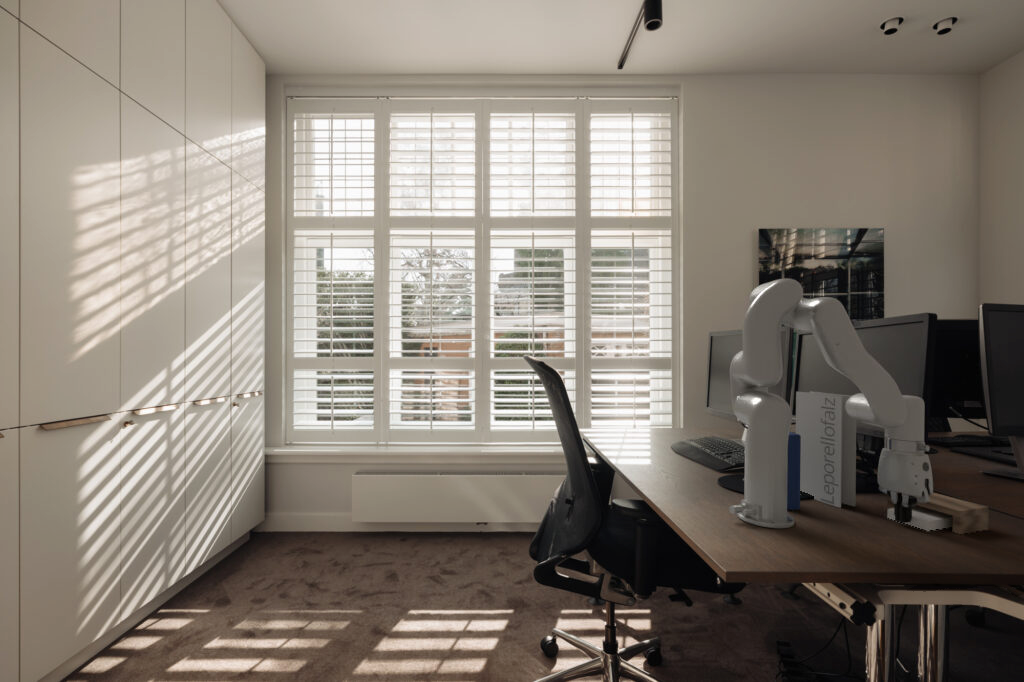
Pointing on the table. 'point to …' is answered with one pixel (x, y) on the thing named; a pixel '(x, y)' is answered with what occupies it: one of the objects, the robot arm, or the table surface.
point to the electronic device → (793, 471)
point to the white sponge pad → (926, 518)
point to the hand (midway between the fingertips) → (902, 521)
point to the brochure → (826, 447)
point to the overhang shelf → (958, 512)
